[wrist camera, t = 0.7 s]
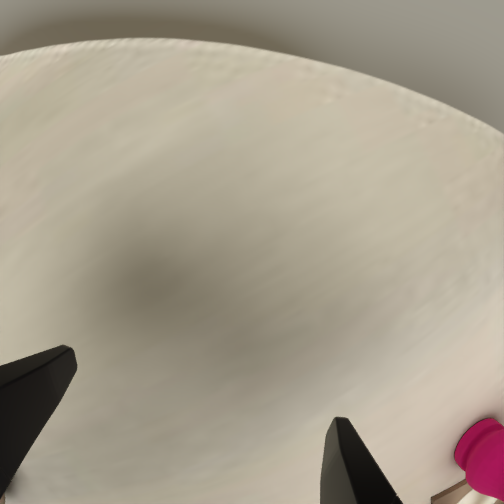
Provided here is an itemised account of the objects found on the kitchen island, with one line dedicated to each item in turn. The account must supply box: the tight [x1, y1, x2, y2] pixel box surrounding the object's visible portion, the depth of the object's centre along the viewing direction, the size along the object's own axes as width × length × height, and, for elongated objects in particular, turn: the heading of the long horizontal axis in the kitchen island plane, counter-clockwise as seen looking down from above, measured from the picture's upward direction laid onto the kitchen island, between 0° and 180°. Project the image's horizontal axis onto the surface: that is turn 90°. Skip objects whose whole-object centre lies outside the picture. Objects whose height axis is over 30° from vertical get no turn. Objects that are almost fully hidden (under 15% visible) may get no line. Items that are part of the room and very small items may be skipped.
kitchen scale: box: [431, 479, 504, 504], centre depth 22 cm, size 13×13×1 cm
